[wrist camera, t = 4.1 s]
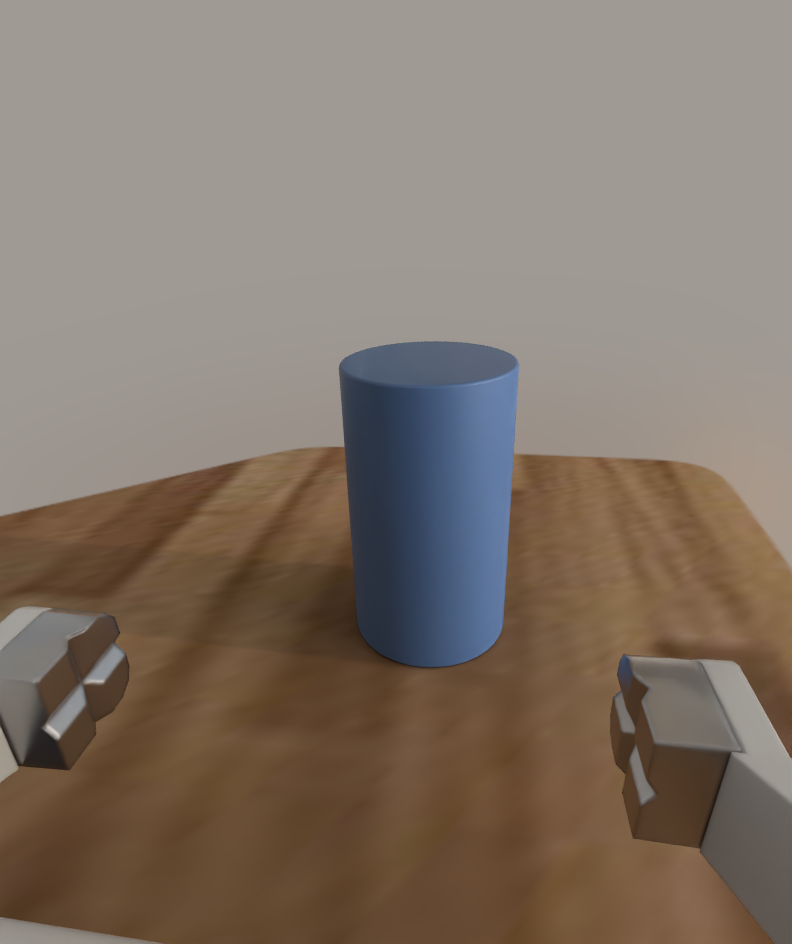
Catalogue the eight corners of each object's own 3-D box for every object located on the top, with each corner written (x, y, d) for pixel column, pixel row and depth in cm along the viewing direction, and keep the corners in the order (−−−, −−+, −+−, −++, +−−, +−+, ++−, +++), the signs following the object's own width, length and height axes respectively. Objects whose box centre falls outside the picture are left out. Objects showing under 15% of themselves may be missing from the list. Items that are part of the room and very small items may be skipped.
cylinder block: (501, 577, 24) (515, 341, 20) (505, 675, 19) (524, 387, 15) (371, 570, 25) (358, 340, 21) (342, 661, 20) (318, 384, 16)
